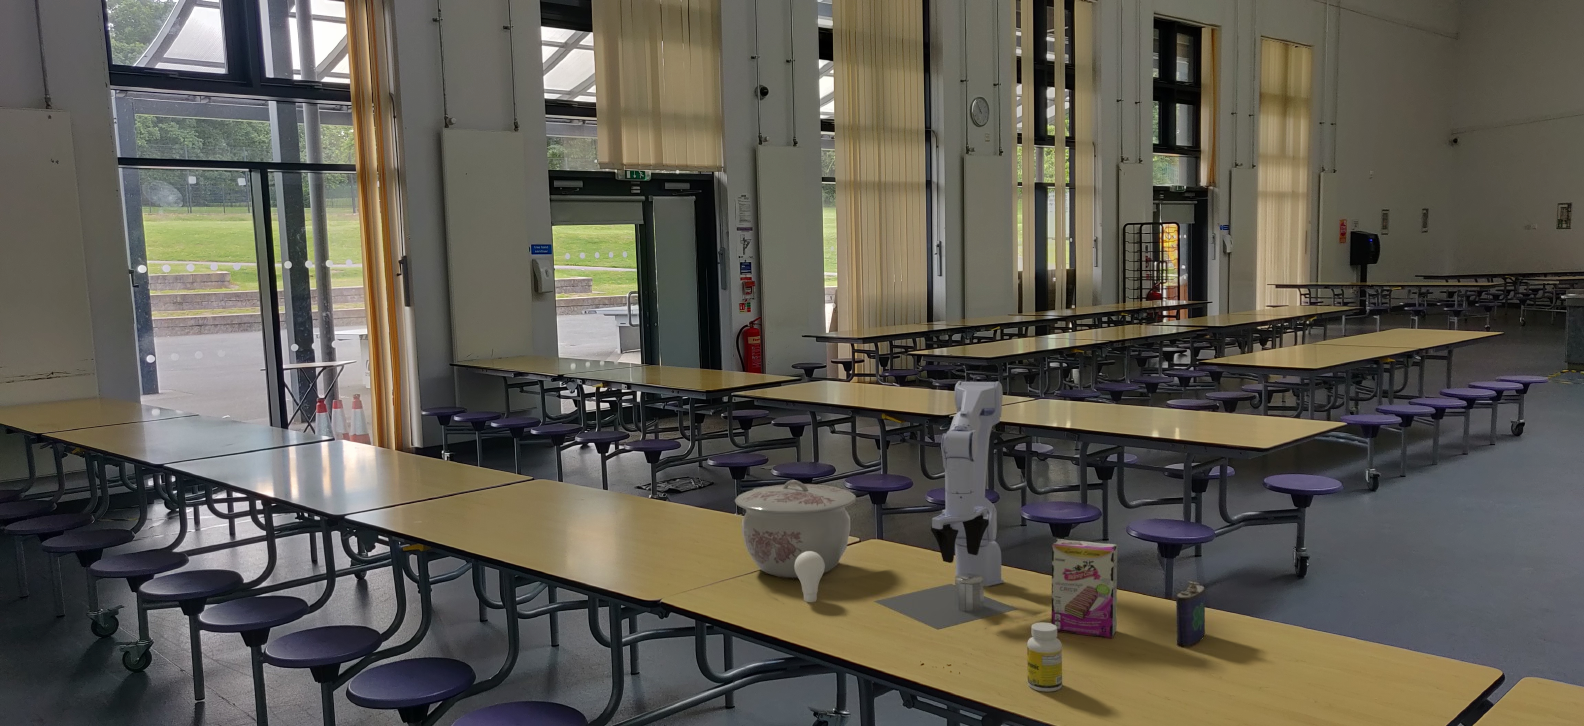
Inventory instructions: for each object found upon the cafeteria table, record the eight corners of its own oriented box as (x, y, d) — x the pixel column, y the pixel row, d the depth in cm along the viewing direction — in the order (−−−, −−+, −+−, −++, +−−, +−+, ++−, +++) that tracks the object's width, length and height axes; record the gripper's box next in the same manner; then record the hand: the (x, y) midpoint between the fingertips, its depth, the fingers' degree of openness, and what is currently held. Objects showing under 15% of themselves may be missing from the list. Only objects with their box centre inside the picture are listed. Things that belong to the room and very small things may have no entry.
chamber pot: (861, 587, 218) (859, 491, 217) (732, 589, 219) (729, 494, 217) (854, 551, 246) (853, 466, 245) (740, 553, 247) (738, 469, 245)
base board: (951, 588, 216) (950, 583, 216) (1018, 613, 199) (1018, 608, 199) (873, 605, 206) (873, 601, 206) (937, 634, 189) (937, 629, 188)
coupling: (964, 601, 204) (964, 571, 204) (988, 606, 201) (988, 576, 200) (950, 608, 200) (950, 578, 200) (974, 613, 197) (974, 583, 196)
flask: (1193, 631, 187) (1194, 574, 186) (1209, 634, 185) (1210, 576, 184) (1173, 645, 180) (1173, 586, 179) (1189, 649, 178) (1190, 589, 177)
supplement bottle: (1023, 680, 167) (1022, 621, 166) (1055, 678, 167) (1055, 619, 166) (1033, 693, 161) (1033, 633, 160) (1067, 691, 162) (1067, 631, 161)
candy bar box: (1050, 631, 189) (1050, 544, 187) (1055, 623, 193) (1055, 537, 192) (1113, 639, 184) (1114, 550, 182) (1117, 630, 188) (1117, 543, 187)
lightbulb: (826, 600, 210) (825, 547, 209) (824, 609, 204) (823, 555, 203) (796, 599, 211) (795, 547, 210) (793, 609, 205) (792, 555, 204)
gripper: (967, 482, 211) (968, 547, 213) (920, 493, 202) (920, 561, 203) (995, 487, 206) (995, 553, 207) (947, 498, 197) (948, 568, 198)
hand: (960, 557), depth 205 cm, fingers open, 7 cm apart
